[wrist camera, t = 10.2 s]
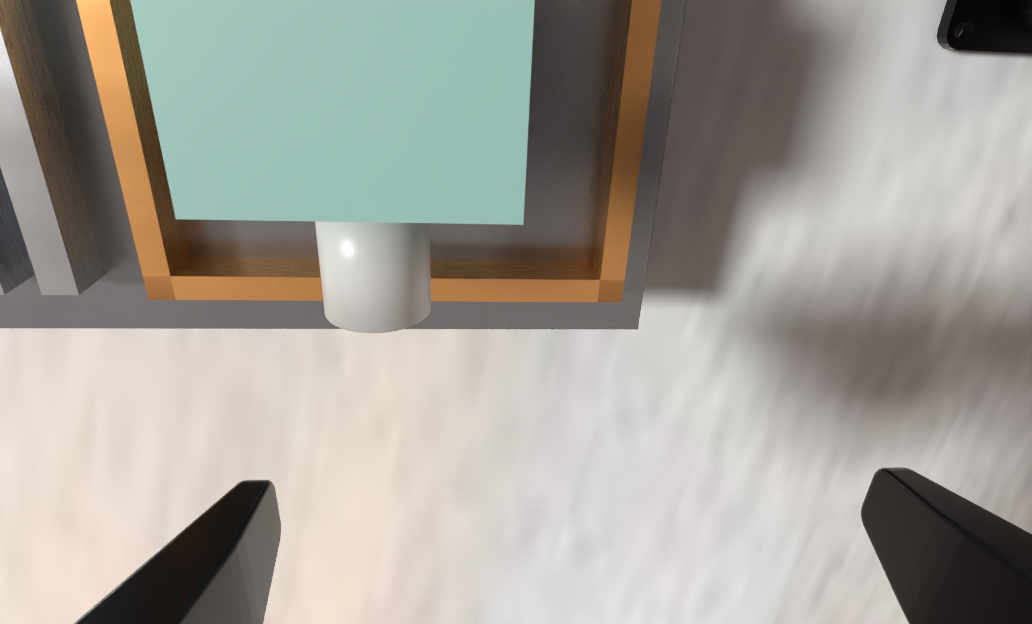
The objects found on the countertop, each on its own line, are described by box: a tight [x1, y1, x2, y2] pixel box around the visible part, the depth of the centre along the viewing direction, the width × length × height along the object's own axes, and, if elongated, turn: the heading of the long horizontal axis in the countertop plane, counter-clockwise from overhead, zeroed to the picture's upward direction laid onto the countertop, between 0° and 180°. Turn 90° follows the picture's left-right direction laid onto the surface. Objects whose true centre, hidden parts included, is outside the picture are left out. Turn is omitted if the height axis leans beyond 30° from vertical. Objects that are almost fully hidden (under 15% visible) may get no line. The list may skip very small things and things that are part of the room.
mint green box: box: [130, 0, 535, 333], centre depth 11 cm, size 5×7×6 cm
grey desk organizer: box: [0, 0, 686, 329], centre depth 14 cm, size 18×15×5 cm
